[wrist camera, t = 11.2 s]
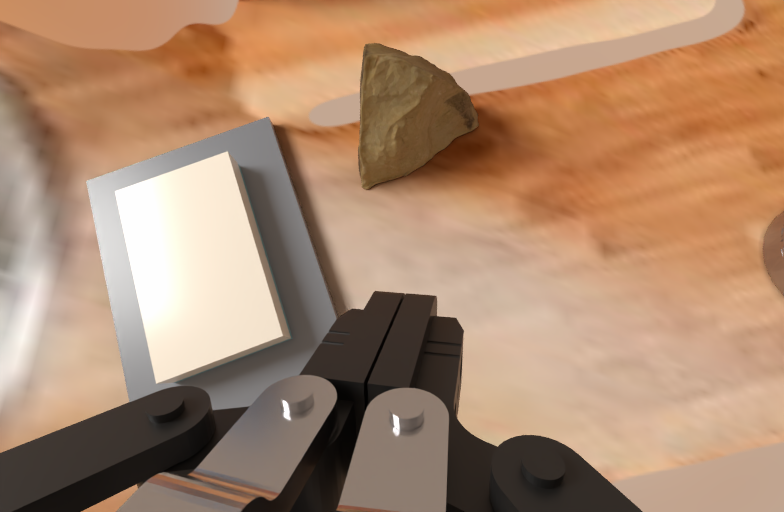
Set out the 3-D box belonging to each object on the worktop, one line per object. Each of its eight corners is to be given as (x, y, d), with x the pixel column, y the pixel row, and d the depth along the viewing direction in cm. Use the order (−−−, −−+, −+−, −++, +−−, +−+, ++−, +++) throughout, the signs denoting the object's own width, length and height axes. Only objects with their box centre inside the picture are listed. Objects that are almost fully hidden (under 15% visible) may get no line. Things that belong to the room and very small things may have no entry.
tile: (283, 335, 30) (227, 151, 34) (156, 383, 30) (114, 191, 34) (292, 338, 32) (240, 166, 36) (175, 383, 32) (135, 203, 36)
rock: (486, 61, 36) (365, 46, 36) (515, 58, 29) (362, 39, 28) (464, 188, 41) (355, 178, 40) (484, 217, 33) (349, 204, 32)
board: (373, 420, 32) (371, 422, 31) (160, 503, 31) (150, 509, 30) (272, 124, 39) (268, 116, 37) (96, 186, 38) (86, 181, 37)
